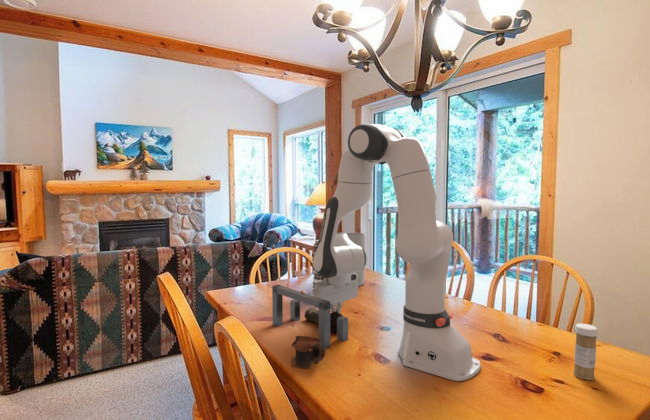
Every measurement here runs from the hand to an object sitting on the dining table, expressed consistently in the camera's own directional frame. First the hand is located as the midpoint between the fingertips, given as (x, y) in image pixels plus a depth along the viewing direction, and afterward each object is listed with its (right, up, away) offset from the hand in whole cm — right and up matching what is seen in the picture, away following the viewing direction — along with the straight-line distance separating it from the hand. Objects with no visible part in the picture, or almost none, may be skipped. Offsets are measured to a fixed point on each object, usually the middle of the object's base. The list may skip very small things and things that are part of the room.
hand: (335, 314), depth 133 cm
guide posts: (-7, -3, -6) cm, 9 cm away
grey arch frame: (-12, -3, -12) cm, 17 cm away
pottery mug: (-8, -5, -30) cm, 32 cm away
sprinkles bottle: (+63, -6, -37) cm, 74 cm away
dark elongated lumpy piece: (-3, -3, -3) cm, 5 cm away
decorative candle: (-5, -1, +28) cm, 29 cm away
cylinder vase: (+10, +1, +52) cm, 53 cm away
